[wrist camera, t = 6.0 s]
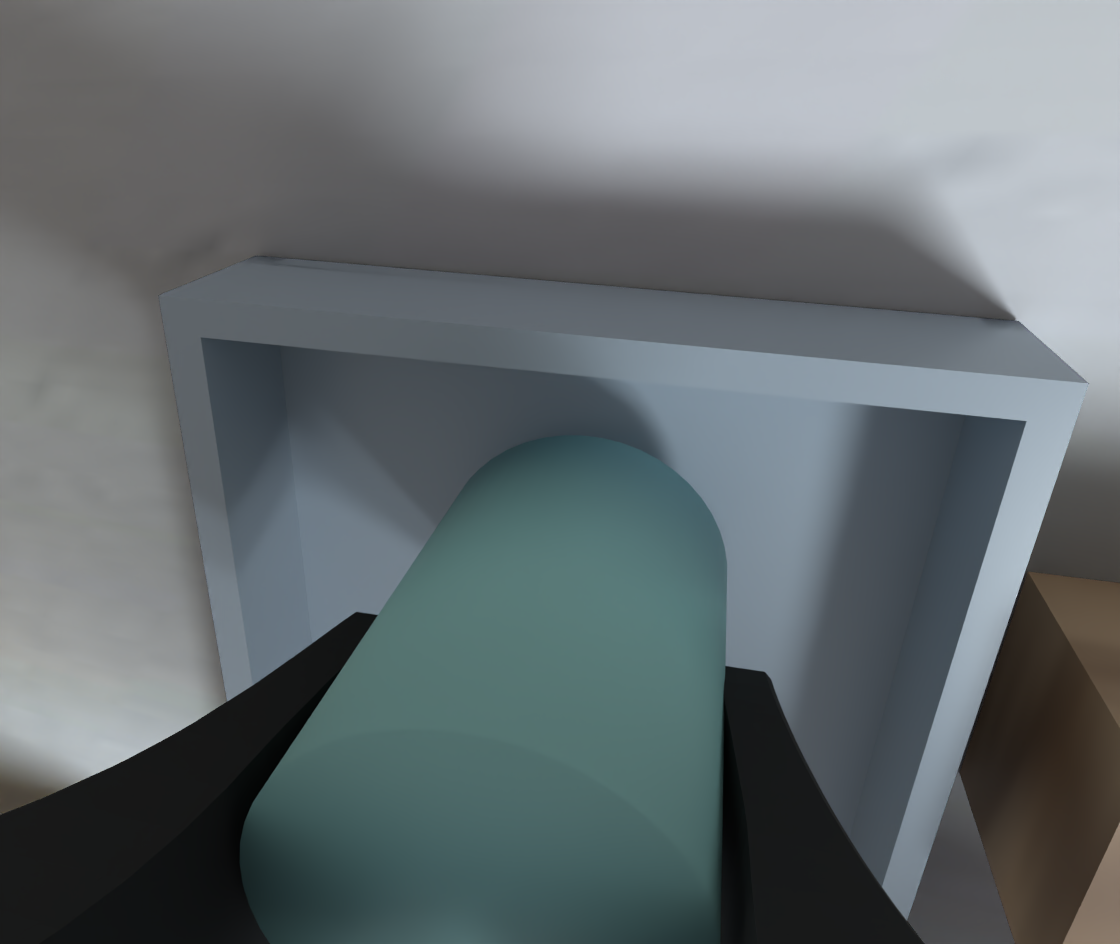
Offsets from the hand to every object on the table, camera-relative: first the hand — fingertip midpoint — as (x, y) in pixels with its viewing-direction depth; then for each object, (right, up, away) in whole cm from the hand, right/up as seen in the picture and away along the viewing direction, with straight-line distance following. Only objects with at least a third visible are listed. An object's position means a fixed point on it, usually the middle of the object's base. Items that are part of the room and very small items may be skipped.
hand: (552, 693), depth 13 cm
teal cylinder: (+1, +2, +2) cm, 3 cm away
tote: (+1, -1, +6) cm, 6 cm away
